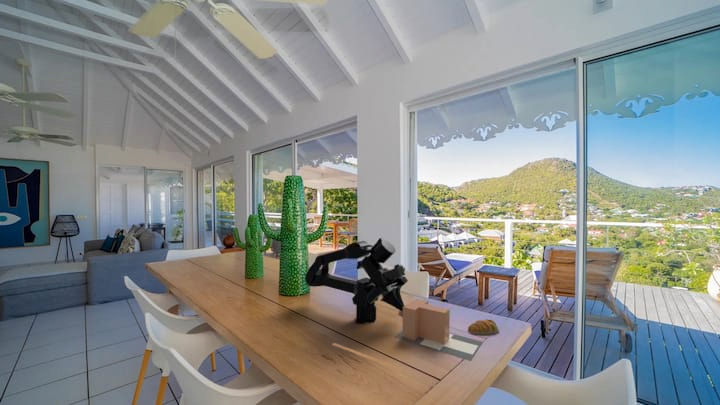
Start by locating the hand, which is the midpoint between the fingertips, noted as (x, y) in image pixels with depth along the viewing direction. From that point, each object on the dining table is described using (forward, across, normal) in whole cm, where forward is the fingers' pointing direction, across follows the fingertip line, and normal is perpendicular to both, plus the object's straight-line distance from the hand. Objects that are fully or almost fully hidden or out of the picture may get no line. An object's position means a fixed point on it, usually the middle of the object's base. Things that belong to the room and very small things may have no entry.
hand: (404, 310), depth 93 cm
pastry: (+20, +15, -10) cm, 27 cm away
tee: (+10, 0, -1) cm, 10 cm away
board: (+13, 0, -3) cm, 13 cm away
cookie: (+3, +14, +7) cm, 16 cm away
